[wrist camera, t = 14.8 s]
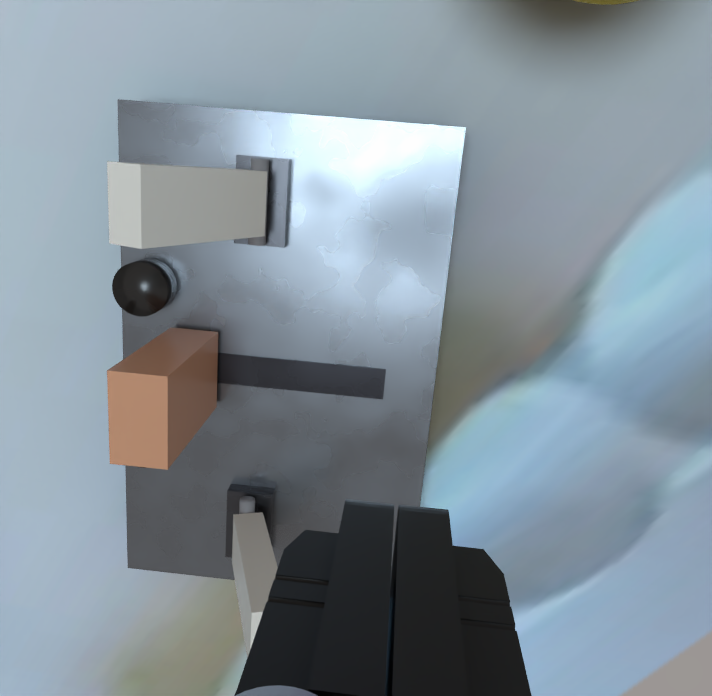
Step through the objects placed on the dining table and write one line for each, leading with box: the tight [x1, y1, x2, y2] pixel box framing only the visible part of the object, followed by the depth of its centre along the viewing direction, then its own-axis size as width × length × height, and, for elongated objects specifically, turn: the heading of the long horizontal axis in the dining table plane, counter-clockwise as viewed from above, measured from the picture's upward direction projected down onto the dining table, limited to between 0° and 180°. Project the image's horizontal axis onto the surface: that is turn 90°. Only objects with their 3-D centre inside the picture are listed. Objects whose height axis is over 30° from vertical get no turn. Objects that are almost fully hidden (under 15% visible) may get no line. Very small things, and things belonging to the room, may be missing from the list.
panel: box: [112, 100, 466, 580], centre depth 33 cm, size 16×25×4 cm, turn 175°
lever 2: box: [232, 496, 278, 658], centre depth 30 cm, size 2×4×8 cm, turn 176°
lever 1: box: [107, 158, 269, 249], centre depth 25 cm, size 2×4×8 cm, turn 175°
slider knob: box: [107, 327, 218, 470], centre depth 29 cm, size 2×4×7 cm, turn 175°
